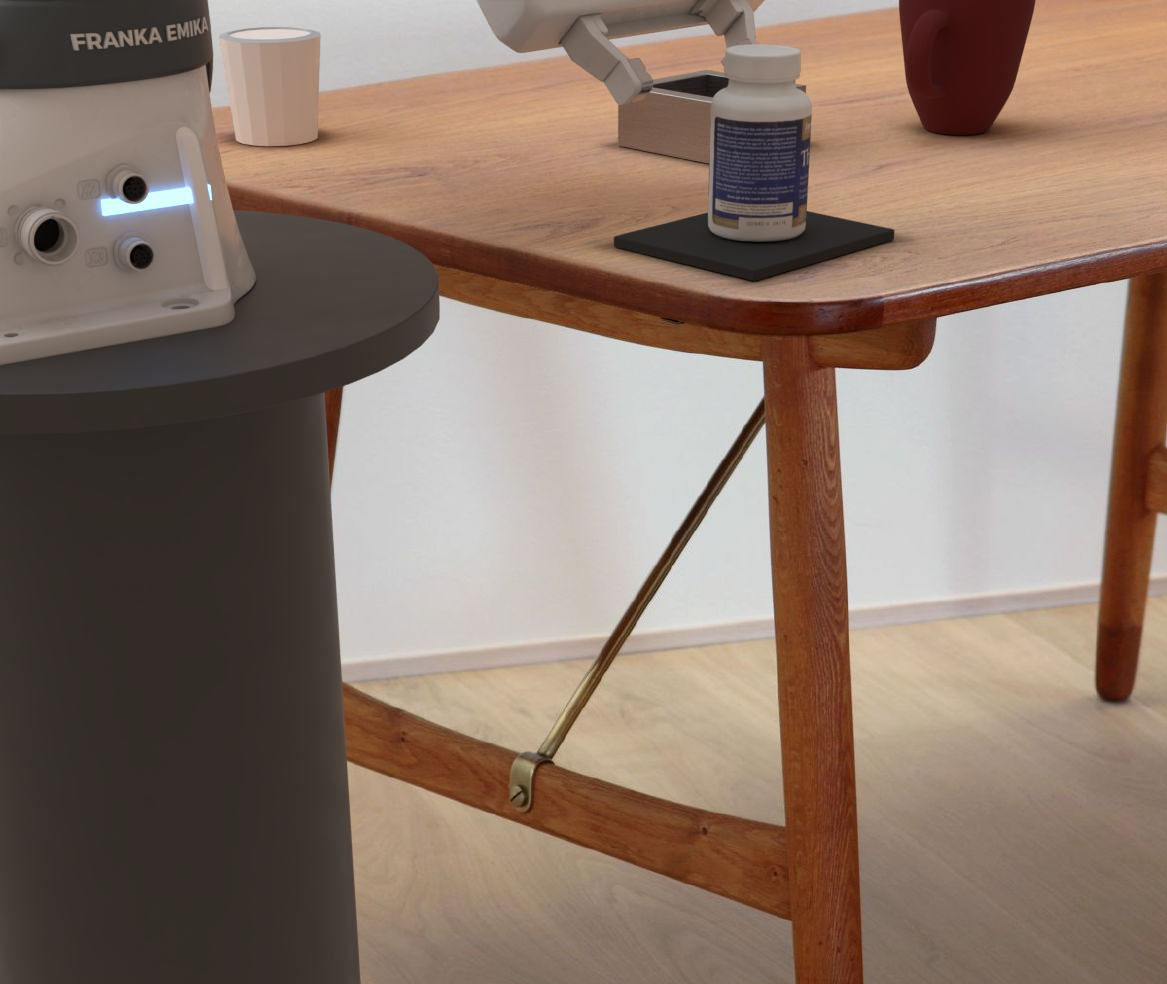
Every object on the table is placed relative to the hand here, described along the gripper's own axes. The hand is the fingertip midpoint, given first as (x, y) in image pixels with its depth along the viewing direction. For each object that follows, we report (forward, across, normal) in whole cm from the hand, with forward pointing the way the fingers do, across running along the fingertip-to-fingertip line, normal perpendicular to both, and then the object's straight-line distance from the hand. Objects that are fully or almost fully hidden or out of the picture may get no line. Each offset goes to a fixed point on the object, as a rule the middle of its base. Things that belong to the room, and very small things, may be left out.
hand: (697, 86), depth 102 cm
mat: (+9, 0, +2) cm, 9 cm away
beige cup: (-21, -1, +32) cm, 39 cm away
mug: (+2, +33, +10) cm, 34 cm away
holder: (-5, +18, +16) cm, 25 cm away
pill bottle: (+8, 0, +2) cm, 9 cm away
